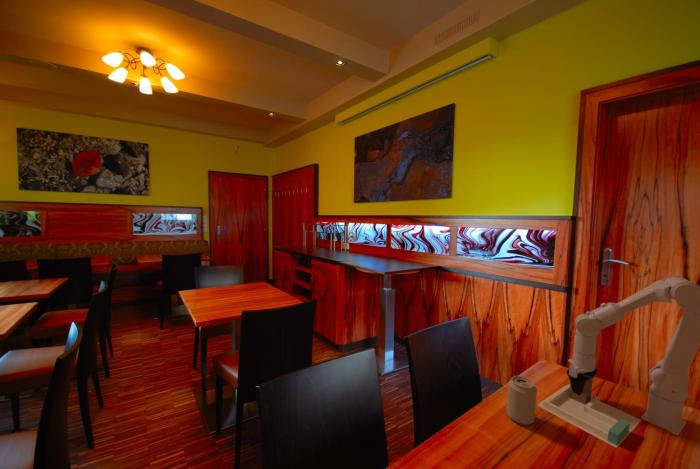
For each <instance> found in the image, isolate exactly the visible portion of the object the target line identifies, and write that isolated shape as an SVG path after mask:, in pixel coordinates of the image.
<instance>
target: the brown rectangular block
mask: <svg viewBox="0 0 700 469" xmlns="http://www.w3.org/2000/svg"><path fill="white" fill-rule="evenodd" d="M582 374H583V375H582V376H585V377H587V378H589V379H588V380H587V381H586V382H585V384H584V387H583V390H582V393H581V395H577V394H575V393H573V391H572V386H571V382H569V384H570V391H569V398H572V399H574V400H576V401H578V402H580V403H582V404H584V405H585V404H586V403H587V402H589V401H590V400H591V397H592V391H593V390H592V389H593V380H594V377H591V376H589V375H586V374H584V373H582Z"/></svg>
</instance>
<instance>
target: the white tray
mask: <svg viewBox="0 0 700 469" xmlns="http://www.w3.org/2000/svg"><path fill="white" fill-rule="evenodd" d="M569 391H570V383H568V384H567V385H563V387H561V388H560V389H558V390H556V391H555V392H554V393H552V394H551V395H549V396H548V397H545V399H543V400H541V401H540V402H538V403H537V404H536V406H537V407H540V408H541V409H543V410H545V411H547V412H548V413H550V414H552V415H554V416H556V417H558V418H560V419H561V420H563V421H565V422H567V423H569V424H571V425H572V426H574V427H576V428H579V429H581V430H582V431H583V432H586V433H588V434H589V435H592V436H593V437H595V438H596V439H599V440H601V441H603V442H605V443H606V444H608V445H610V446H611V447H614V448H616V449H617V448H618V447H620V445H621V444H622V443H623V442H624V440H625V439H626V438H627V437H628V436H629V435H630V434H631V433H632V432H633V430H635V428H637V426H638V425H639V423H641V422H642V419H640V418H637V417H636V416H634V415H631V414H629V413H627V412H625V411H623V410H620V409H618V408H616V407H613V406H611V405H609V404H606V403H605V402H602V401H601V397H599V396H598V395H596V396H595V397H592V396H591V400H590V401H589V402H587V403H586V404H585V405H584V404H582V403H580V402H578V401H576V400H574V399H572V398H569Z"/></svg>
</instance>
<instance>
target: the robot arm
mask: <svg viewBox="0 0 700 469" xmlns="http://www.w3.org/2000/svg"><path fill="white" fill-rule="evenodd" d="M671 299H673V300H674V301H675V302H676V303H677V305H678V306H679V307H680V309H682V311H683V313H682V316H681V318H680V320H679V322H678V325H677V327H676V329H675V332H674V334H673V337H672V338H671V341H670V344H669V345H668V348H667V350H666V353H665V354H664V356H663V359H660V360H658V362H657V364H655V366H654V367H652V368H651V369H650V370H649V371H648V377H649V378H648V379H649V380H650V381H651V382H652V384H651V385H650V386H649V389H648V390H649V391H648V399H647V406H646V412H645V413H643V415H642V416H641V417H640V418H641V420H644V421H646V422H648V423H651V424H653V425H655V426H658V427H660V428H662V429H664V430H666V431H667V432H668V433H670V434H673V435H674V436H679V435H680V433H681V432H682V431H683V429H684V427H685V426H686V425H687V421H685V420H684V419H683V413H684V408H685V406H684V405H685V401H686V400H687V399H688V397H689V396H690V395H689V393H690V392H689V389H688V386H689V384H690V377H689V370H690V367H691V364H692V363H693V360H694V358H695V356H696V354H697V352H698V349H699V348H700V285H698V284H696V283H694V282H691V281H689V280H688V279H687V278H685V277H684V276H680V275H677V274H675V275H674V274H673V275H668V276H665V277H664V278H663V279H659V280H656V281H654V282H652V283H651V284H650V285H648V286H647V287H645V288H643V289H641V290H638V291H636V293H634V294H633V293H632V295H630V296H628V297H626V298H624V299H622V300H621V301H619V302H617V303H616V302H606V303H605V302H603V303H600V306H599V307H597V308H595V309H593V310H591V311H589V310H588V311H586V312H585V313H581V314H579V315H577V316H576V318H575V319H574V324H575V326H576V328H575V335H574V340H573V341H574V342H573V349H572V350H573V353H572V358H569V359H567V360H568V363H570V364H571V365H570V368H569V369H567V370H566V375H567V376H568V379H569V381H570V382H571V386H572V391H573V393H575V394H577V395H581V393H582V390H583V387H584V384H585V382H586V381H587V380H588V379H589V378H587V377H585V376H582V375H583V374H582V373H584V374H586V375H589V376H591V377H593V378H594V377H595V376H596V375H597V374H598V372H599V369H598V368H596V361H597V359H596V352H597V351H596V350H597V336H599V334H600V333H601V330H604V329H605V328H607V327H609V326H612V325H614V324H617V323H618V322H621V321H622V320H625V318H626V315H627V313H629V312H633V311H634V310H637V309H639V308H641V307H644V306H647V305H649V304H650V305H651V304H652V303H654V302H661V303H668V304H672V302H673V301H672V300H671ZM570 382H569V383H570Z"/></svg>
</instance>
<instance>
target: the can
mask: <svg viewBox="0 0 700 469" xmlns="http://www.w3.org/2000/svg"><path fill="white" fill-rule="evenodd" d="M535 384H536V383H535V382H534V381H533V380H532V379H530V378H528V377H525V376H522V375H514V376H512V377H511V379H510V380H509V381H508V387H507V388H508V389H507V399H506V404H507V405H506V414H507V416H509V419H511V420H512V421H513V422H515V423H517V424H519V425H524V426H528V425H531V424H534V422H535V419H536V406H537V404H536V403H537V393H538V390H537V386H536V385H535Z"/></svg>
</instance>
